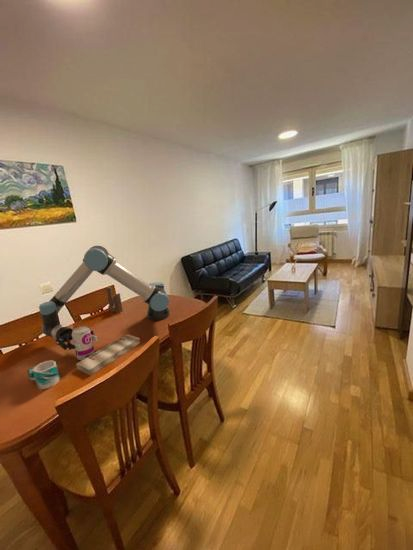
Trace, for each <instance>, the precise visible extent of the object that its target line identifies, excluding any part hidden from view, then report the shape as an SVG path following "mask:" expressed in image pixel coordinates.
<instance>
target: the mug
mask: <svg viewBox="0 0 413 550" xmlns="http://www.w3.org/2000/svg"><path fill="white" fill-rule="evenodd" d="M26 370H27V375H28V378H29V380H30V381H35V383H36V385H37V388H38V389H39V390H46V388H47V389H49V387H50V388H52V387H54V386H56V385H57V384H58V383H59V382H60V380H61V377H60V375H59V371H58V366H57V363H56V361H54V360H51V359H50V360H45V361H44V362H40V363H38V364H37V365H35V366H33V365H32V366H31V367H29V368H28V369H26ZM51 386H52V387H51Z"/></svg>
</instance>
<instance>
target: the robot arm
mask: <svg viewBox="0 0 413 550" xmlns="http://www.w3.org/2000/svg"><path fill="white" fill-rule="evenodd" d="M93 272H97V273H99V274H101V275H102V276H104V275H107V276H109V277H111V279H113V280H115V281H116V282H118V283H120V285H123V286H124V287H126V288H127V289H129V290H130V291H132V292H134V294H136V295H138V296H139V297H141V299H142V301H143V302H144V303H145V304H147V305H148V307H147V313H146V317H147V319H148V320H150V321H160V320H159V319H161V320H164V319H166V318H168V317H169V316H170V315H169V314H171V313H170V309H169V307H168V306H169V304H170V298H169V295H168V293H167V292H166V290H165V285H164V283H163V282H161V281H160V282H158V281H157V282H150V283H147V282H146V281H145V280H143V279H142V278H140V277H139V276H138V275H136V274H134V273H133V272H131V271H130V270H128V269H127V268H126V267H125V266H123V265H121V264H120V263H119V262H117V259H116V257H114V256H113V255H112V254H110V253H109V252H108V250H107V249H106V248H105V247H104V246H101V245H94V246H91V247H90V248H89V249H88V250H87V251H85V254H84V255H83V259H82V263H81V264H80V265H79V266H78V267H77V268H76V270H75V271H74V272H73V273H72V274H71V276H70V277H69V278H68V279H67V280H66V281H65V282H64V284H63V285H62V286H61V287H60V288H59V289H58V291H57V292H56V293H55V294H54V296H52V298H50V299H49V301H45V302H42V303H41V304H39V306H38V308H39V313H40V317H41V320H42V326H41V333H42V334H43V335H45V336H46V337H50V338H51V339H55V344H56V346H57V345H58V346H59V347H61V349H63V350H64V351H66V350H67V349H68V350H69V351H70V350H75V349H76V350H79V351H81V346H80V345H79V344H76V343H74V342H73V339H72V331H73V330H74V329H73V328H71V327H67V326H65V325H62V324H61V322H60V318H59V313H60V311H61V310H62V308H64V306H65V305H66V303H68V301H69V300H70V299H71V298H72V296H73V295H74V294H75V293H76V292H77V290H79V289H80V287H81V286H82V285H83V284H84V282H86V280H87V279H88V278H89V277H90V276H91V275H92V274H93ZM168 315H169V316H168ZM167 316H168V317H167ZM165 317H166V318H165ZM163 318H164V319H163ZM90 331H91V336H92V341H93V342H99V339H98V336H96V334H95V333H94V330H91V329H90ZM71 341H72V342H71ZM66 343H67V344H66Z"/></svg>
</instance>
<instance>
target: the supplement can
mask: <svg viewBox="0 0 413 550" xmlns="http://www.w3.org/2000/svg"><path fill="white" fill-rule="evenodd" d="M72 330H73V331H72V342H74V343H76V344H79V345H80V346H81V351H79V350H76V349H74V350H75V355H76V359H77V360H79V361H82V360H84V359H85V358H87V357H88V356H90V355H92V354H94V353H96V352H95V348H94V346H95V345H94V341H93V340H92V336H91V331H92V330H91V329H90V328H89V326H88V325H82V326H78V327H76V328H74V329H72ZM90 330H91V331H90Z"/></svg>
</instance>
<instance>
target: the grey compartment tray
mask: <svg viewBox="0 0 413 550" xmlns="http://www.w3.org/2000/svg"><path fill="white" fill-rule="evenodd" d="M139 344H141V339H140V337H137V336H134V335H131V334H124V335H123V336H121V337H119V338H118V339H116V340H114V341H113V342H111V343H109V344H108V345H106V346H104V347H102V348H101V349H99V350H97V351H96V352H95V353H94V354H92V355H90V356H88V357H87V358H85V359H84V360H79V362H76V364H75V365H76V369H77V370H78V371H80V372H82V373H84V374H86V375H88V376H93V375H94V374H95V373H97V372H99V371H100V370H102V369H103V368H105V367H106V366H108V365H109V364H111V363H112V362H113V361H115V360H117V359H118V358H120V357H121V356H122V355H124V354H126V353H128V352H129V351H131V350H132V349H134V348H135V347H137V346H138V345H139Z"/></svg>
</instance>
